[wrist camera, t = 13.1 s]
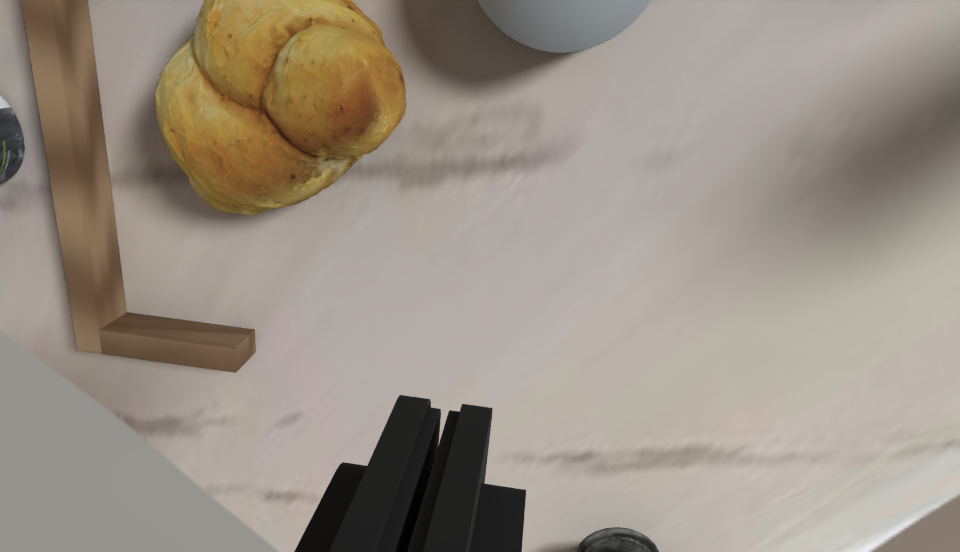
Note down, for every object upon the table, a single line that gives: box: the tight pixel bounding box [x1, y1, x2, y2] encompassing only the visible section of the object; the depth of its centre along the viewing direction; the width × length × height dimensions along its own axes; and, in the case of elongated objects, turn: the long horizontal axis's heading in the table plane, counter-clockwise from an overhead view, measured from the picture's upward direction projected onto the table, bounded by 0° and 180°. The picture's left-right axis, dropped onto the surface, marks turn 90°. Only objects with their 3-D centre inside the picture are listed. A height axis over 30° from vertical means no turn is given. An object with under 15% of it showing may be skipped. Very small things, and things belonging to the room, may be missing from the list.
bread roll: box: [155, 0, 406, 215], centre depth 29 cm, size 13×10×8 cm
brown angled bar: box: [21, 0, 256, 373], centre depth 33 cm, size 23×10×2 cm, turn 175°
